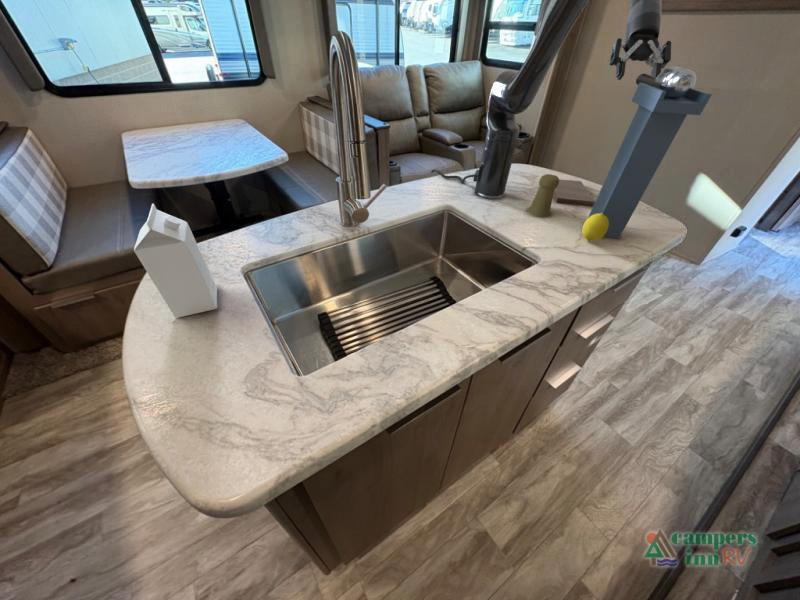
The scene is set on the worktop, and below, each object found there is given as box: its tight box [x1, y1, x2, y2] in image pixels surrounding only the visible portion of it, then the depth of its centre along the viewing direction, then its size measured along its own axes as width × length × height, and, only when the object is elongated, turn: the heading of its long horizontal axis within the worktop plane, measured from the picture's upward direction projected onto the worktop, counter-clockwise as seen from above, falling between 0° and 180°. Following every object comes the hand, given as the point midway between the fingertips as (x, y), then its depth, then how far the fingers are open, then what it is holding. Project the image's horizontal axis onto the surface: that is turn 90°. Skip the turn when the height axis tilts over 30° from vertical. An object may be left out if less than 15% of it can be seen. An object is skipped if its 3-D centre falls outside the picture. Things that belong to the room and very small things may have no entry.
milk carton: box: [133, 203, 218, 319], centre depth 57 cm, size 7×7×19 cm
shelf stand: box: [587, 83, 712, 239], centre depth 78 cm, size 12×9×34 cm
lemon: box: [581, 213, 609, 242], centre depth 82 cm, size 6×6×8 cm
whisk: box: [635, 66, 697, 99], centre depth 71 cm, size 21×5×5 cm, turn 170°
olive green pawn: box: [528, 173, 560, 218], centre depth 93 cm, size 6×6×11 cm
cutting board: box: [553, 178, 595, 207], centre depth 108 cm, size 17×11×2 cm, turn 170°
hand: (637, 78), depth 87 cm, fingers open, 8 cm apart
